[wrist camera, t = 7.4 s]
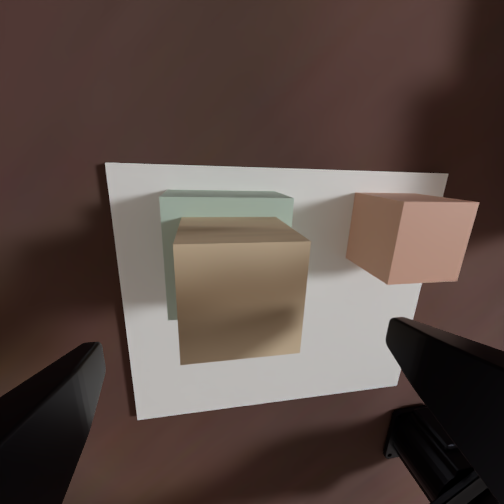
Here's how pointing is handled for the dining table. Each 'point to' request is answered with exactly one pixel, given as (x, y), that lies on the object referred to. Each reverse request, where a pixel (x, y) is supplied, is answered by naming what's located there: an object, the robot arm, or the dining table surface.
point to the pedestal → (212, 205)
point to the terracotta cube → (410, 236)
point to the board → (316, 301)
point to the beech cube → (239, 288)
